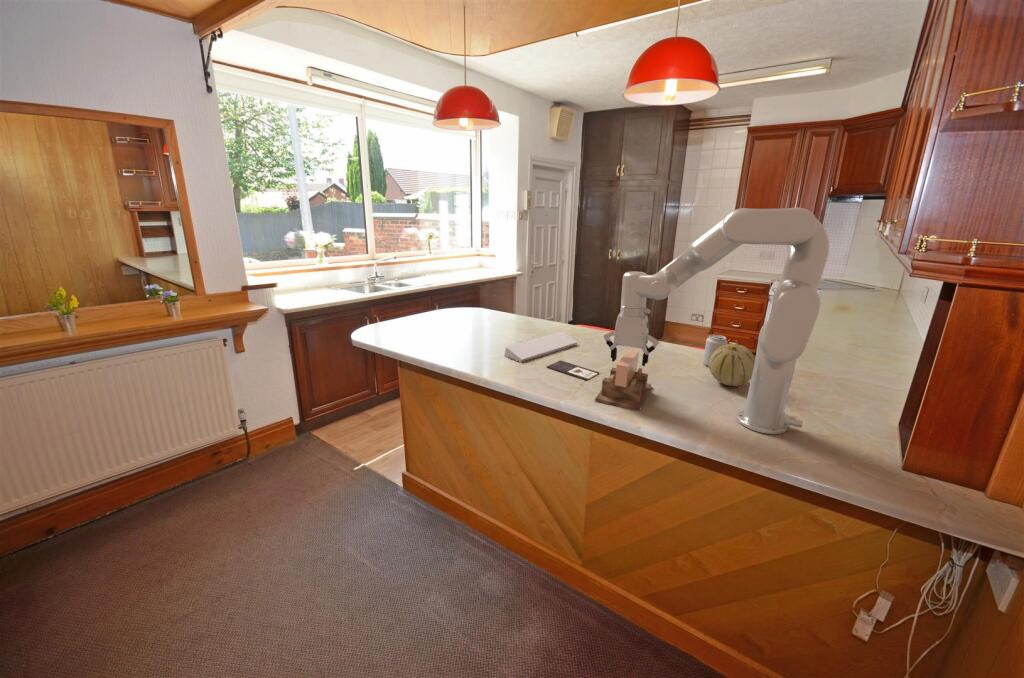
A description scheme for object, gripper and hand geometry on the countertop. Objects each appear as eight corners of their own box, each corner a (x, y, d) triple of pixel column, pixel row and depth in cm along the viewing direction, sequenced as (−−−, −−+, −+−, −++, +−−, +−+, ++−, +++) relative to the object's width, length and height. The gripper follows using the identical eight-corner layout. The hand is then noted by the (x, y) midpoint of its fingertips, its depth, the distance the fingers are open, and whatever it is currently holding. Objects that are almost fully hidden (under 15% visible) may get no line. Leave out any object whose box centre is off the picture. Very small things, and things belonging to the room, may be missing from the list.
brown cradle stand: (651, 386, 144) (653, 366, 142) (639, 410, 128) (641, 388, 125) (611, 379, 151) (612, 359, 148) (595, 401, 134) (596, 379, 131)
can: (718, 370, 159) (723, 340, 156) (699, 364, 165) (703, 336, 161) (726, 365, 164) (731, 336, 160) (707, 360, 169) (712, 332, 166)
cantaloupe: (747, 378, 152) (755, 339, 147) (756, 395, 139) (765, 353, 134) (703, 373, 156) (710, 335, 151) (708, 389, 143) (715, 348, 138)
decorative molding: (574, 350, 189) (559, 340, 195) (577, 341, 186) (562, 331, 192) (519, 369, 167) (504, 356, 173) (521, 359, 165) (506, 346, 171)
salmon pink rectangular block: (636, 370, 143) (638, 351, 141) (626, 387, 130) (628, 366, 127) (626, 368, 145) (628, 349, 142) (614, 385, 131) (616, 364, 129)
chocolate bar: (560, 360, 167) (599, 372, 155) (560, 362, 167) (599, 374, 156) (546, 366, 161) (585, 379, 149) (546, 368, 161) (585, 381, 149)
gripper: (663, 311, 129) (658, 362, 135) (608, 306, 137) (605, 355, 142) (659, 317, 123) (654, 370, 128) (602, 311, 131) (599, 362, 136)
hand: (628, 362), depth 135 cm, fingers open, 9 cm apart
